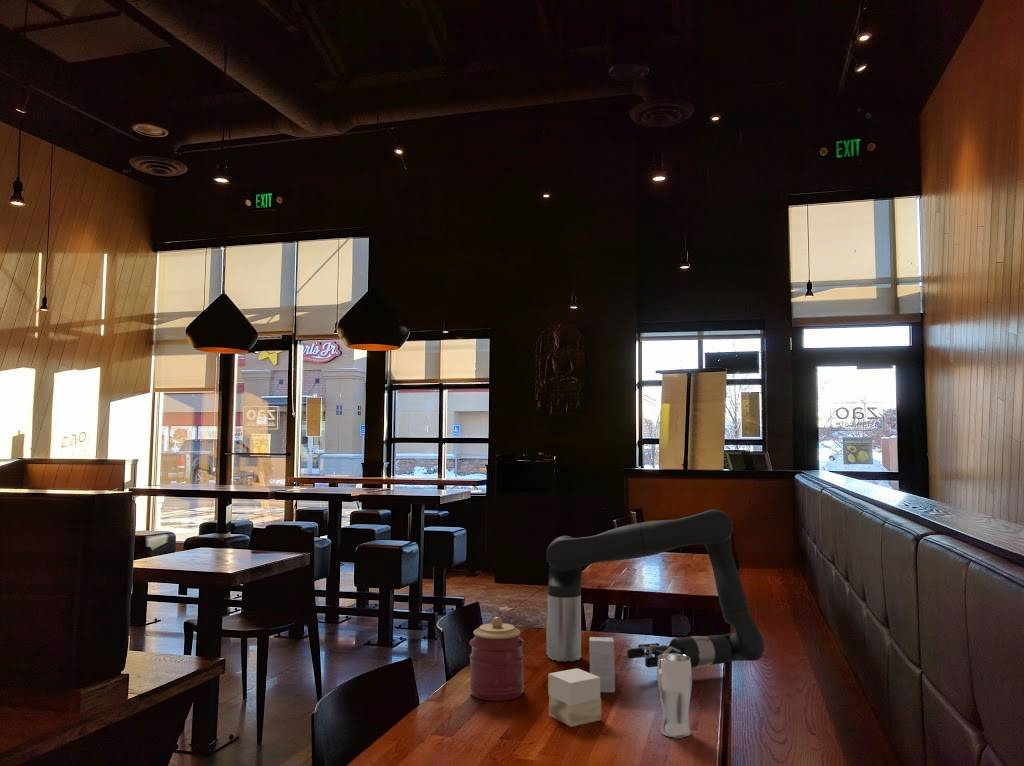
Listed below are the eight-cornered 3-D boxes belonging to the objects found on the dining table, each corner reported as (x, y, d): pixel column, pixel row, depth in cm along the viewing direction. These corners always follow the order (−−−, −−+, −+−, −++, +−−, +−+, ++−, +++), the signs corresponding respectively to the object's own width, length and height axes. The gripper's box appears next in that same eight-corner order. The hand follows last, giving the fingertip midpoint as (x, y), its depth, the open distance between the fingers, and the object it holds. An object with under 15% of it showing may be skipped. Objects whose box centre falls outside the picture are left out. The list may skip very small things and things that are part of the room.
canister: (457, 693, 178) (458, 617, 179) (496, 681, 187) (496, 609, 189) (497, 706, 169) (497, 625, 171) (535, 692, 178) (535, 616, 180)
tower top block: (548, 694, 163) (548, 673, 164) (577, 689, 168) (577, 668, 168) (570, 705, 157) (570, 683, 157) (600, 698, 161) (600, 677, 161)
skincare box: (614, 687, 183) (614, 637, 184) (615, 693, 178) (614, 641, 180) (589, 686, 183) (589, 636, 184) (589, 692, 179) (589, 640, 180)
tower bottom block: (549, 716, 163) (549, 694, 163) (578, 709, 167) (578, 689, 168) (570, 727, 156) (570, 705, 157) (601, 720, 160) (601, 698, 161)
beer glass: (694, 729, 155) (693, 654, 156) (691, 741, 148) (689, 663, 150) (660, 725, 157) (659, 651, 159) (655, 737, 151) (654, 660, 152)
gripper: (675, 630, 198) (621, 636, 192) (708, 643, 185) (652, 649, 179) (676, 660, 197) (622, 666, 191) (709, 675, 184) (652, 682, 178)
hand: (636, 658), depth 185 cm, fingers open, 8 cm apart
